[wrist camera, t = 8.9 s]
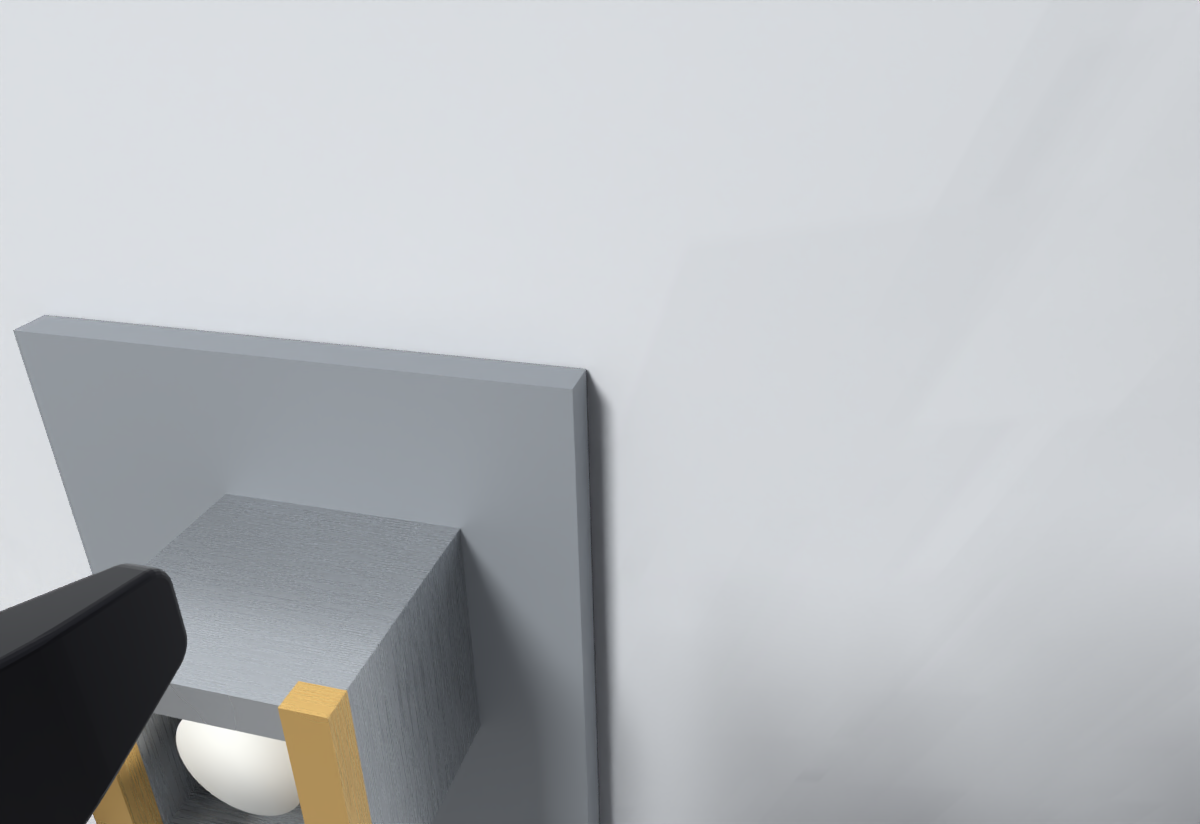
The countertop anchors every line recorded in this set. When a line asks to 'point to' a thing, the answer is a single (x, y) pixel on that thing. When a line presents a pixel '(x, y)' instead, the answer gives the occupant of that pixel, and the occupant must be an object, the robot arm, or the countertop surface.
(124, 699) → the robot arm
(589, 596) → the panel
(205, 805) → the open cube shelf
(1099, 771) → the countertop surface
